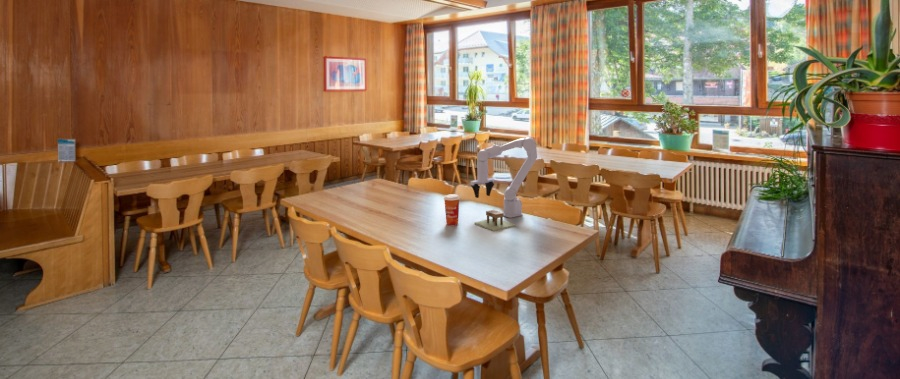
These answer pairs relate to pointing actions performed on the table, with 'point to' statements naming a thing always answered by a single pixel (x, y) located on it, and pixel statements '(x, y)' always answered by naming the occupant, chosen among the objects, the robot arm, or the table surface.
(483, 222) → the mat
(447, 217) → the coffee cup
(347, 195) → the table surface
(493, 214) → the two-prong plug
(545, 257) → the table surface
